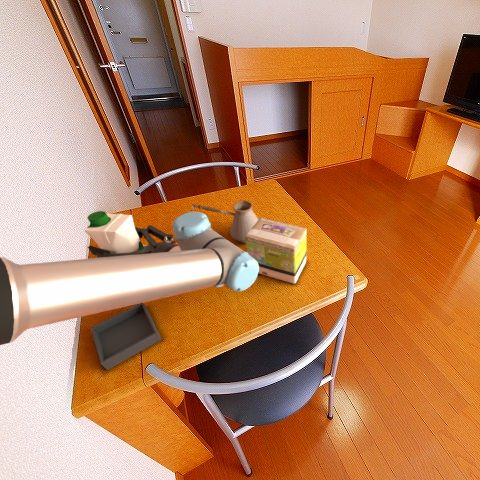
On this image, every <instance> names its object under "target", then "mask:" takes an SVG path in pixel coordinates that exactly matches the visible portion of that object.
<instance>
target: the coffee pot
mask: <svg viewBox="0 0 480 480" xmlns="http://www.w3.org/2000/svg"><path fill="white" fill-rule="evenodd" d="M193 208H198V209H201V210H205V211H208V212H214V213H220V214H224V215H229V216H232V217H233V219H232V223H231V227H230V230H229V234H230V236H231V237H232V239H233V240H235V241H237V242H239V243H241V244H246V241H245V236H246V235H247V233H248V232H249V231H250V230H251V228H252V227H253V226H254V225H255V224H256V222H257V221H258V220H259V219H260V218H258V217H257V215H256V213H255V212H254V211H253V208H254V204H253V202H251V201H249V200H245V199H242V200H239V201H237V202H235V203H234V204H233V205H232V209H233V211H234V212H232V211H226V210H221V209H218V208H215V207H211V206H207V205H205V206H204V205H201V204H198V205H197V204H194V203H193V204H191V209H193Z"/></svg>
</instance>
